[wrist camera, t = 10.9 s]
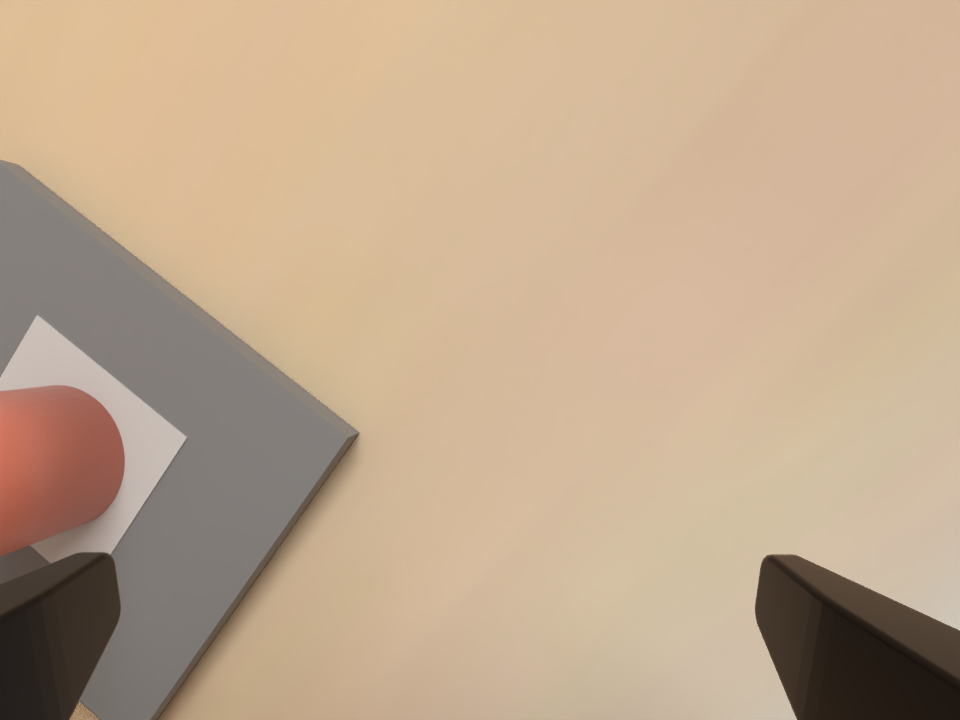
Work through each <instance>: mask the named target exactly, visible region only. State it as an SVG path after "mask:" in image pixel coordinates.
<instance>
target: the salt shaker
mask: <svg viewBox="0 0 960 720" xmlns="http://www.w3.org/2000/svg"><path fill="white" fill-rule="evenodd" d="M124 468H125V455H124V447H123V442H122V438H121V435H120V432H119V430H118V428H117V425H116V423H115V421H114V420H113V418H112V417H111V415H110V413H109V412H108V411H107V410H106V409H105V407H104V406H103V405H102V404H101V403H100V402H99V401H98V400H96V399H95V398H94V397H92V396H91V395H90V394H88V393H86V392H84V391H82V390H80V389H77V388H75V387H70V386H66V385H50V386H41V387H32V388H23V389H15V390H6V391H0V557H1V556H3V555H6V554H8V553H11V552H14V551H16V550H19V549H21V548H24V547H26V546H29V545H31V544H34V543H37V542H39V541H42V540H44V539H47V538H49V537H52V536H54V535H57V534H60V533H62V532H65V531H67V530H70V529H72V528H75V527H77V526H80V525H83V524H85V523H88V522H90V521H92V520H94V519H96V518H97V517H98V516H100V515H101V514H102V513H103V512H104V511H105V510H106V509H108V507H109V506H110V505H111V504H112V502H113V501H114V499H115V497H116V496H117V494H118V492H119V489H120V487H121V484H122V480H123V476H124Z"/></svg>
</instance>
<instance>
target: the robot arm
mask: <svg viewBox="0 0 960 720" xmlns="http://www.w3.org/2000/svg"><path fill="white" fill-rule="evenodd" d="M120 613H121V601H120V594H119V587H118V580H117V572H116V565H115V561H114V559H113V557H112V556H111V555H110V554H108V553H105V552H80V553H75V554H73V555H70V556H68V557H65V558H63V559H60V560H58V561H56V562H53V563H51V564H48V565H46V566H43V567H41V568H38V569H36V570H33V571H31V572H29V573H26V574H24V575H21V576H19V577H16V578H14V579H11V580H9V581H6V582H4V583H2V584H0V720H70V718H71V716H72V714H73V712H74V710H75V708H76V706H77V704H78V702H79V700H80V698H81V696H82V694H83V692H84V690H85V688H86V686H87V684H88V682H89V680H90V678H91V676H92V674H93V672H94V670H95V668H96V666H97V664H98V662H99V660H100V658H101V656H102V654H103V652H104V650H105V648H106V646H107V644H108V642H109V640H110V638H111V636H112V634H113V632H114V630H115V628H116V626H117V624H118V621H119V618H120ZM755 615H756V620H757V624H758V627H759V629H760V632H761V634H762V636H763V639H764V641H765V644H766V646H767V648H768V651H769V653H770V656H771V658H772V661H773V663H774V665H775V668H776V670H777V673H778V675H779V678H780V680H781V682H782V685H783V687H784V690H785V692H786V694H787V697H788V699H789V702H790V704H791V707H792V709H793V711H794V714H795V716H796V718H797V720H960V631H959V630H957V629H955V628H953V627H951V626H948V625H946V624H944V623H942V622H940V621H938V620H936V619H933V618H931V617H929V616H927V615H925V614H923V613H920V612H918V611H916V610H914V609H912V608H910V607H907V606H905V605H903V604H901V603H899V602H897V601H894V600H892V599H890V598H888V597H886V596H884V595H881V594H879V593H877V592H875V591H873V590H871V589H868V588H866V587H864V586H862V585H860V584H858V583H855V582H853V581H851V580H849V579H847V578H845V577H842V576H840V575H838V574H836V573H834V572H832V571H829V570H827V569H825V568H823V567H821V566H819V565H816V564H814V563H812V562H810V561H808V560H806V559H804V558H801V557H799V556H797V555H767V556H766V557H765V558H764V559H763V561H762V563H761V568H760V575H759V582H758V589H757V596H756V603H755Z"/></svg>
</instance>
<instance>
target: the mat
mask: <svg viewBox="0 0 960 720" xmlns="http://www.w3.org/2000/svg"><path fill="white" fill-rule="evenodd" d="M50 385H66V386H70V387H75V388H77V389H80V390H82V391H84V392H86V393H88V394H90V395H91V396H92V397H94V398H95V399H96V400H98V401H99V402H100V403H101V404H102V405H103V406H104V407H105V409H106V410H107V411H108V412H109V413H110V415H111V417H112V418H113V420H114V421H115V423H116V425H117V428H118V430H119V432H120V435H121V438H122V442H123V447H124V455H125V468H124V476H123V480H122V484H121V487H120V489H119V492H118V494H117V496H116V497H115V499H114V501H113V502H112V504H111V505H110V506H109V507H108V509H106V510H105V511H104V512H103V513H102V514H101V515H100V516H98V517H97V518H96V519H94V520H92V521H90V522H88V523H85V524H83V525H80V526H77V527H75V528H72V529H70V530H67V531H65V532H62V533H60V534H57V535H54V536H52V537H49V538H47V539H44V540H42V541H39V542H37V543H34V544H31V545H29V546H26V547H24V548H21V549H19V550H16V551H14V552H11V553H8V554H6V555H3V556H1V557H0V584H2V583H4V582H6V581H9V580H11V579H14V578H16V577H19V576H21V575H24V574H26V573H29V572H31V571H33V570H36V569H38V568H41V567H43V566H46V565H48V564H51V563H53V562H56V561H58V560H60V559H63V558H65V557H68V556H70V555H73V554H75V553H80V552H105V553H108V554H110V555H111V556H112V557H113V559H114V561H115V565H116V572H117V580H118V587H119V594H120V601H121V613H120V618H119V621H118V624H117V626H116V628H115V630H114V632H113V634H112V636H111V638H110V640H109V642H108V644H107V646H106V648H105V650H104V652H103V654H102V656H101V658H100V660H99V662H98V664H97V666H96V668H95V670H94V672H93V674H92V676H91V678H90V680H89V682H88V684H87V686H86V688H85V690H84V692H83V694H82V696H81V698H80V700H79V701H80V702H81V703H82V704H83V705H84V706H86V707H87V708H88V709H89V710H90V711H91V712H92V713H93V714H94V715H96V716H97V717H98V718H99V719H100V720H157V719H158V718H159V716H160V715H161V714H162V712H163V711H164V709H165V708H166V706H167V705H168V704H169V702H170V701H171V699H172V698H173V696H174V695H175V694H176V692H177V691H178V689H179V688H180V687H181V685H182V684H183V682H184V681H185V679H186V678H187V677H188V675H189V674H190V672H191V671H192V669H193V668H194V667H195V665H196V664H197V662H198V661H199V660H200V658H201V657H202V655H203V654H204V652H205V651H206V650H207V648H208V647H209V645H210V644H211V642H212V641H213V640H214V638H215V637H216V635H217V634H218V633H219V631H220V630H221V628H222V627H223V625H224V624H225V623H226V621H227V620H228V618H229V617H230V615H231V614H232V613H233V611H234V610H235V608H236V607H237V606H238V604H239V603H240V601H241V600H242V598H243V597H244V596H245V594H246V593H247V591H248V590H249V588H250V587H251V586H252V584H253V583H254V581H255V580H256V579H257V577H258V576H259V574H260V573H261V571H262V570H263V569H264V567H265V566H266V564H267V563H268V561H269V560H270V559H271V557H272V556H273V554H274V553H275V552H276V550H277V549H278V547H279V546H280V544H281V543H282V542H283V540H284V539H285V537H286V536H287V534H288V533H289V532H290V530H291V529H292V527H293V526H294V525H295V523H296V522H297V520H298V519H299V517H300V516H301V515H302V513H303V512H304V510H305V509H306V507H307V506H308V505H309V503H310V502H311V500H312V499H313V498H314V496H315V495H316V493H317V492H318V490H319V489H320V488H321V486H322V485H323V483H324V482H325V480H326V479H327V478H328V476H329V475H330V473H331V472H332V471H333V469H334V468H335V466H336V465H337V463H338V462H339V461H340V459H341V458H342V456H343V455H344V453H345V452H346V451H347V449H348V448H349V446H350V445H351V444H352V442H353V441H354V439H355V438H356V436H357V435H358V434H359V432H358V431H357V430H355V429H354V428H353V427H351V426H350V425H349V424H348V423H346V422H345V421H344V420H343V419H341V418H340V417H339V416H338V415H336V414H335V413H334V412H332V411H331V410H330V409H329V408H327V407H326V406H325V405H324V404H322V403H321V402H320V401H318V400H317V399H316V398H315V397H313V396H312V395H311V394H310V393H308V392H307V391H306V390H304V389H303V388H302V387H301V386H299V385H298V384H297V383H296V382H294V381H293V380H292V379H290V378H289V377H288V376H287V375H285V374H284V373H283V372H282V371H280V370H279V369H278V368H276V367H275V366H274V365H273V364H271V363H270V362H269V361H268V360H266V359H265V358H264V357H262V356H261V355H260V354H259V353H257V352H256V351H255V350H254V349H252V348H251V347H250V346H248V345H247V344H246V343H245V342H243V341H242V340H241V339H240V338H238V337H237V336H236V335H234V334H233V333H232V332H231V331H229V330H228V329H227V328H226V327H224V326H223V325H222V324H220V323H219V322H218V321H217V320H215V319H214V318H213V317H212V316H210V315H209V314H208V313H207V312H205V311H204V310H203V309H201V308H200V307H199V306H198V305H196V304H195V303H194V302H193V301H191V300H190V299H189V298H187V297H186V296H185V295H184V294H182V293H181V292H180V291H179V290H177V289H176V288H175V287H173V286H172V285H171V284H170V283H168V282H167V281H166V280H165V279H163V278H162V277H161V276H159V275H158V274H157V273H156V272H154V271H153V270H152V269H151V268H149V267H148V266H147V265H145V264H144V263H143V262H142V261H140V260H139V259H138V258H137V257H135V256H134V255H133V254H131V253H130V252H129V251H128V250H126V249H125V248H124V247H123V246H121V245H120V244H119V243H117V242H116V241H115V240H114V239H112V238H111V237H110V236H109V235H107V234H106V233H105V232H103V231H102V230H101V229H100V228H98V227H97V226H96V225H95V224H93V223H92V222H91V221H89V220H88V219H87V218H86V217H84V216H83V215H82V214H81V213H79V212H78V211H77V210H75V209H74V208H73V207H72V206H70V205H69V204H68V203H67V202H65V201H64V200H63V199H62V198H60V197H59V196H58V195H56V194H55V193H54V192H53V191H51V190H50V189H49V188H48V187H46V186H45V185H44V184H42V183H41V182H40V181H39V180H37V179H36V178H35V177H34V176H32V175H31V174H30V173H28V172H27V171H26V170H25V169H23V168H22V167H21V166H20V165H17V164H13V163H10V162H6V161H3V160H0V391H6V390H15V389H23V388H32V387H41V386H50Z"/></svg>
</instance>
